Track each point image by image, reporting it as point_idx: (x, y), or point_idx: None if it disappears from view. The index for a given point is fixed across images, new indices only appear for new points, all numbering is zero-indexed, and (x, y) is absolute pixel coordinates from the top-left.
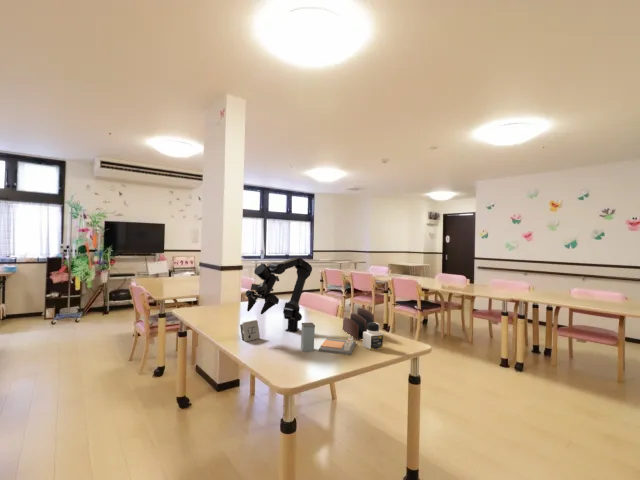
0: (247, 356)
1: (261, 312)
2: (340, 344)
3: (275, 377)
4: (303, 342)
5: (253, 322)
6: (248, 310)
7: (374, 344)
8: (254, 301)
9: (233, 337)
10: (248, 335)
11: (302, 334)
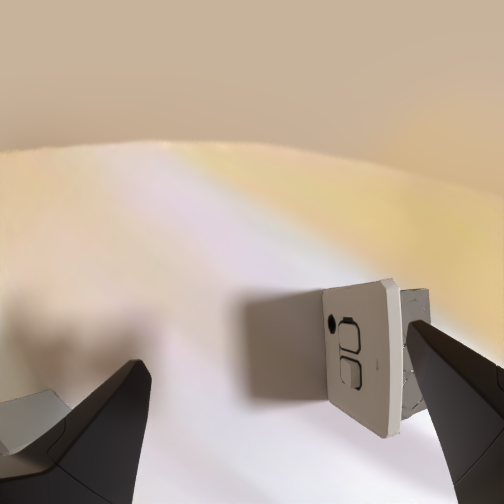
0: (133, 177)
1: (122, 366)
2: None
3: (4, 172)
4: (27, 397)
5: (379, 394)
6: (410, 338)
7: None
8: (474, 502)
9: (436, 281)
10: (334, 317)
11: (22, 421)
